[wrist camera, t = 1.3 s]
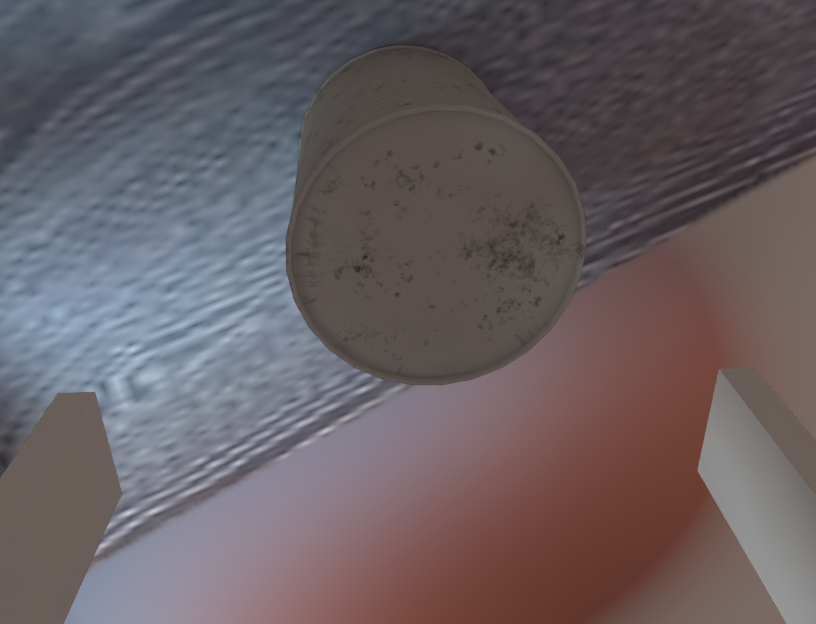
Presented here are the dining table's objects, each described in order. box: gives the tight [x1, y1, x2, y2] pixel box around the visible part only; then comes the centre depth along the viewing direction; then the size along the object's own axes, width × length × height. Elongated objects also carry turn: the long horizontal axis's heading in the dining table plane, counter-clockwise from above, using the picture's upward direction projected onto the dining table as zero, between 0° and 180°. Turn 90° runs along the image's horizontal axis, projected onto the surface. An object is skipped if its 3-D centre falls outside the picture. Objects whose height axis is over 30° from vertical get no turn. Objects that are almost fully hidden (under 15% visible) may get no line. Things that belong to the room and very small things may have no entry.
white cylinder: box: [286, 45, 587, 385], centre depth 28 cm, size 10×10×12 cm
